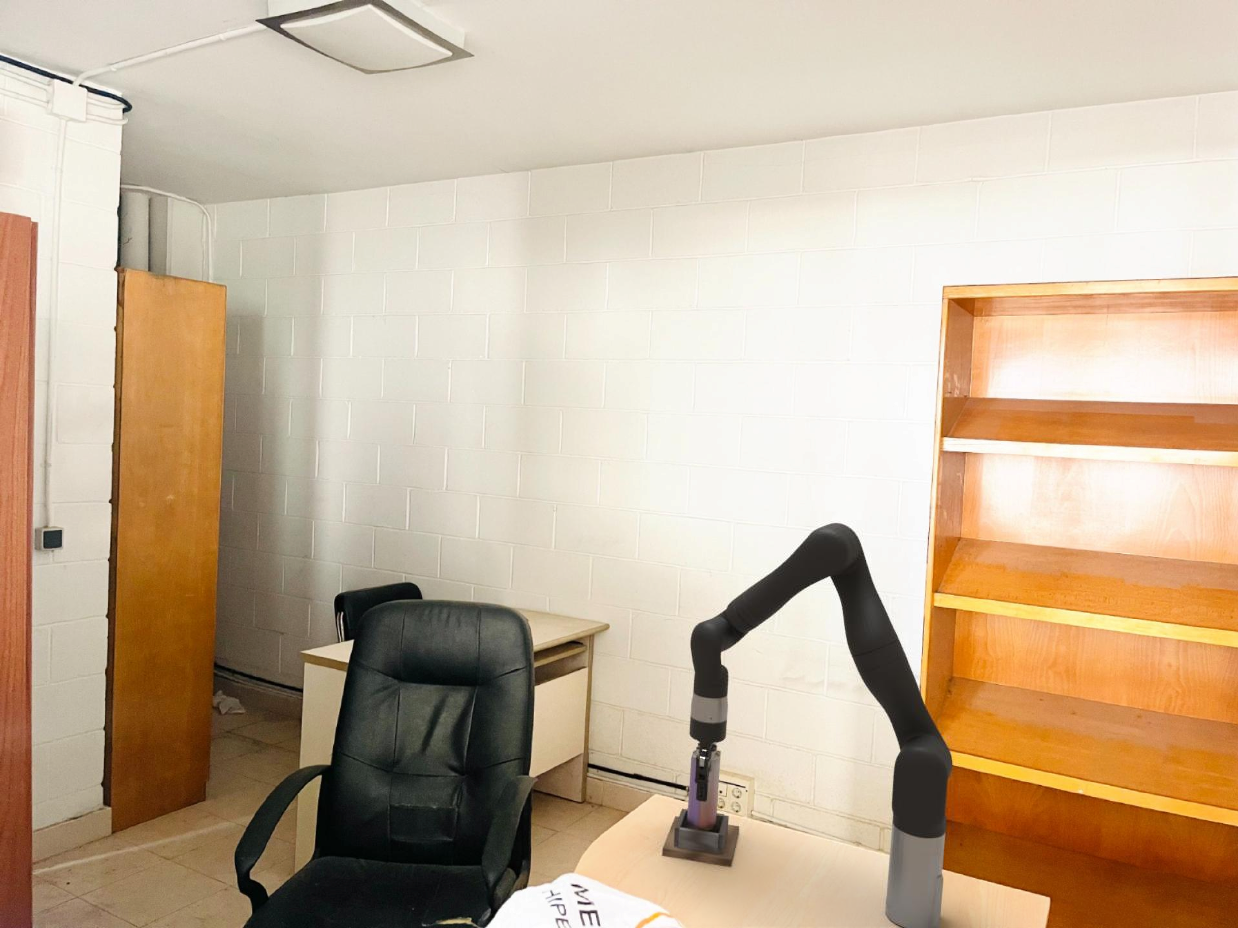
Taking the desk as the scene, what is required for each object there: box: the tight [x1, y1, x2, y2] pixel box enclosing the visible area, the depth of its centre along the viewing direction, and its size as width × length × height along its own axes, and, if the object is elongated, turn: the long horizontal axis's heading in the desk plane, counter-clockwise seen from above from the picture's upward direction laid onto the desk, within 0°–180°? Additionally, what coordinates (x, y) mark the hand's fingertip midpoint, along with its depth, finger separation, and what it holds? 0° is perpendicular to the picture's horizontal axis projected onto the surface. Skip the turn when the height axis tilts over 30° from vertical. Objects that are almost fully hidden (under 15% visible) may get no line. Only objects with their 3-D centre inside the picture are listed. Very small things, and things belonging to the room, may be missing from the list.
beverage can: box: [687, 749, 721, 830], centre depth 189 cm, size 6×6×15 cm
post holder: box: [661, 749, 740, 868], centre depth 191 cm, size 14×15×18 cm
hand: (703, 793), depth 189 cm, fingers closed on beverage can, 6 cm apart
